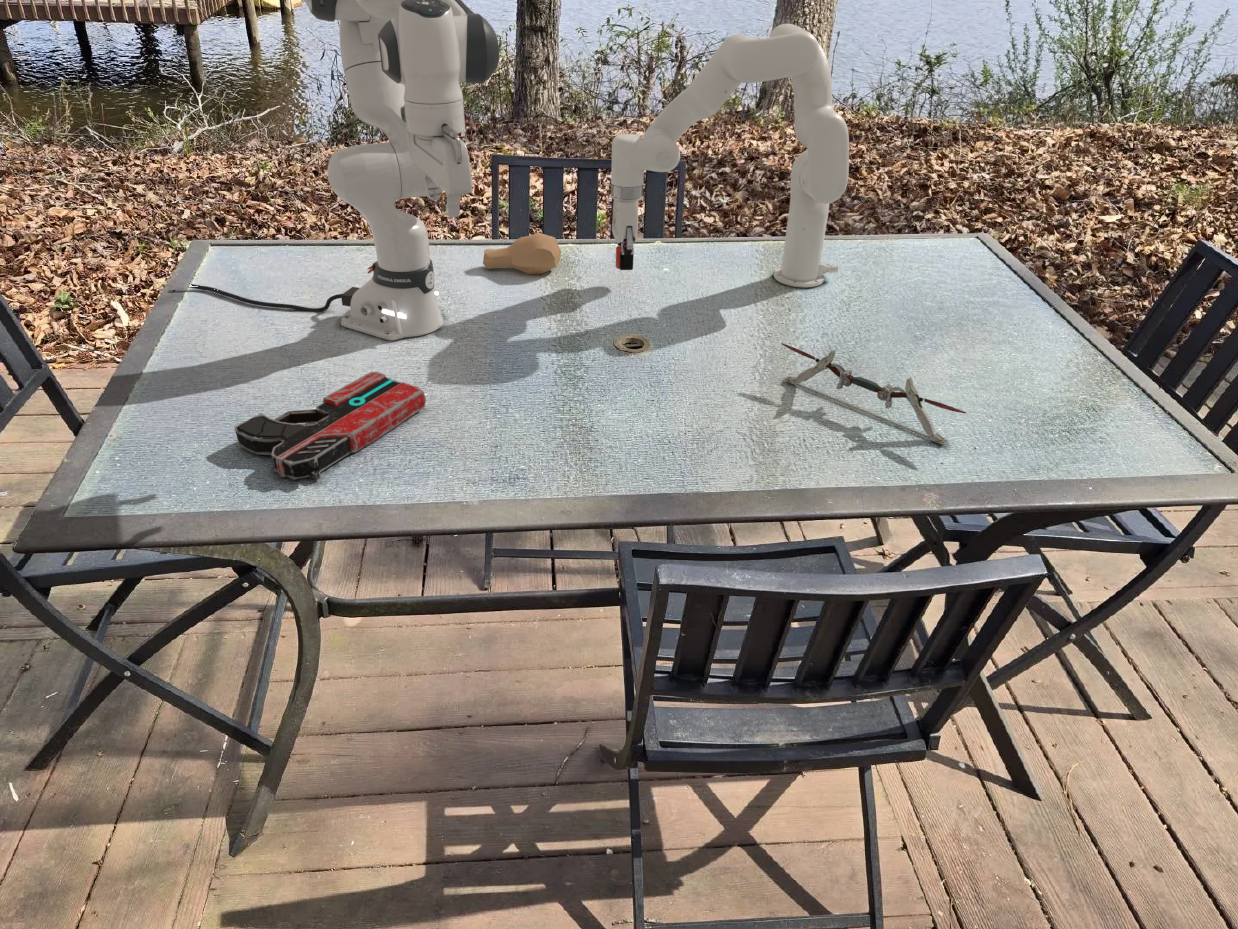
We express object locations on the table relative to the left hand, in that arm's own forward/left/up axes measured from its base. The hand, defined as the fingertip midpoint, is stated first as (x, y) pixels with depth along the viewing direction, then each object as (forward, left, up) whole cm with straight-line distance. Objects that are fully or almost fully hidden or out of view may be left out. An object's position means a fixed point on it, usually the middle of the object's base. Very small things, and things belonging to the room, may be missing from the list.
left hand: (443, 207), depth 143 cm
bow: (+71, +27, -39) cm, 85 cm away
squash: (-18, +70, -39) cm, 82 cm away
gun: (-18, -14, -39) cm, 45 cm away
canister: (+9, +70, -34) cm, 79 cm away
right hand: (+9, +70, -34) cm, 79 cm away
